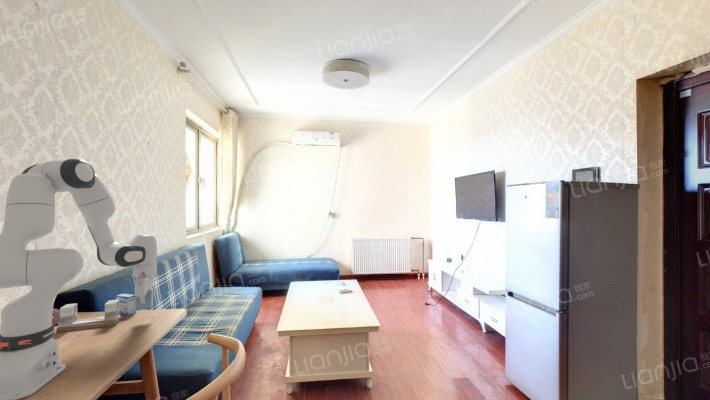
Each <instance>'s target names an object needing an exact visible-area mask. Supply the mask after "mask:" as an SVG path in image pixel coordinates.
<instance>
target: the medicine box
mask: <svg viewBox="0 0 710 400" xmlns="http://www.w3.org/2000/svg"><path fill="white" fill-rule="evenodd" d="M115 300H119V315H125V316H130V315H132V314H133V315H134V314H135V313H137V312H136V311H138V310H135V300H136V297H135V294H130V293H120V294H117V295H116V296H115Z"/></svg>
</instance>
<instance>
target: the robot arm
mask: <svg viewBox="0 0 710 400" xmlns="http://www.w3.org/2000/svg"><path fill="white" fill-rule="evenodd" d="M64 192H68V193H69V194H71V196H72V199H73V200H74V202H75V205H77V208H78V210H79V212H80V213H81V215H82V216H83V219H84V220H85V223H86V225H87V227H88V230H89V232H90V234H91V237H92V238H93V241H94V243H95V246H96V256H97V260H98V262H99V263H101V264H102V265H104V266H109V267H111V266H113V267H118V268H119V267H120V268H128V267H132V276H133V277H136V278H135V282H134V283H135V284H134V295H135V297H140V303H141V304H144V303H145V302H146V298H145V296H146V293H147V292H148V291H149V288H150V287H152V288H153V286H154V283H155V276H156V275H157V273H158V272H157V270H158V268H157V267H158V262H157V253H158V244H157V242H158V241H157V239H156V237H155V236H154V235H149V234H148V235H147V234H136V235H135V236H134V237H133V238H132V239H130V240H128V241H126V242H124V243H120V242H118V241H117V240H115V238H114V236H113V233H112V231H111V229H110V227H109V222H108V221H109V219H110V218H111V217H113V215H114V214H115V212H116V204H115V201H114V199H113V197H112V195H111V193H110V191H109V189H108V188H107V186H106V184H105V183H104V182H103V180H102V179H101V178H100V177H99V175H97V174H96V172H95V170H94V167H93V166H92V165H91V164H90V163H88V161H85V160H84V159H81V158H80V159H79V158H68V159H61V160H52V161H46V162H43V163H37V164H33V165H31V166H28V167H27V168H25V169H24V170H22V172H21V174H18V175H16V176H14V177H13V178H12V180H10V184H9V187H8V191H7V195H6V200H5V209H4V211H5V212H4V219H3V225H2V230H1V232H0V290H2V289H9V288H17V287H26V286H27V287H31V289H30V291H29V292H27V293H26V294H23V295H22V296H19V297H17V298H15V299H13V300H11V301H9V302H8V303H7V304H5V306H4V307H3V308H2V309H1V312H0V400H20V399H23V398H27V397H28V396H31V395H33V394H35V393H36V392H37V391H38V390H40V389H41V388H42V387H43V386H45V385H46V384H47V383H49V382H50V381H51V380H53V379H54V378H56V376H57V375H59V374H60V373H62V372H63V371H64V370H66V369H67V367H66V364H64V363H61V352H60V343H59V342H57V341H56V340H55V339H54V336H55V335H54V334H55V333H54V332H55V326H54V325H53V324H52V319H53V316H52V312H53V309H54V303H55V301H56V298H57V295H58V294H59V292H60V291H61V290H62V289H63V288H64V287H65V286H66V284H68V283H69V282H70V281H72V280H73V279H75V278H76V277H77V276H79V275H80V274H81V271H82V270H83V268H84V259H83V256H82V255H81V253H80V252H79V251H78V250H76V249H71V248H62V247H61V248H60V247H56V248H53V247H52V248H42V249H27V246H28V245H29V244H30V243H32V242H33V241H35V240H39V239H41V238H43V237H46V236H48V235H49V234H51V233H52V232H53V230H54V228H55V211H56V210H55V209H56V201H55V199H56V197H55V194H56V193H64ZM57 377H58V376H57Z"/></svg>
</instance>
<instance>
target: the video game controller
mask: <svg viewBox="0 0 710 400" xmlns="http://www.w3.org/2000/svg"><path fill="white" fill-rule="evenodd" d="M52 324H53V325H54V327H55V326H58V325H59V324H60V309H58V308H53V312H52Z"/></svg>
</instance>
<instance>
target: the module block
mask: <svg viewBox="0 0 710 400" xmlns="http://www.w3.org/2000/svg"><path fill="white" fill-rule="evenodd" d="M154 289H155V288H154V287H153V286H152V287H150V288H149V291H148V292H147V293H146V296H145V298H146V302H145V303H144V304H141V303H140V297H136V300H135V310H137V311H140V310H141V311H142V310H149V309H153V306H154V296H155V295H154V294H155V293H154V291H155V290H154Z"/></svg>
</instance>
